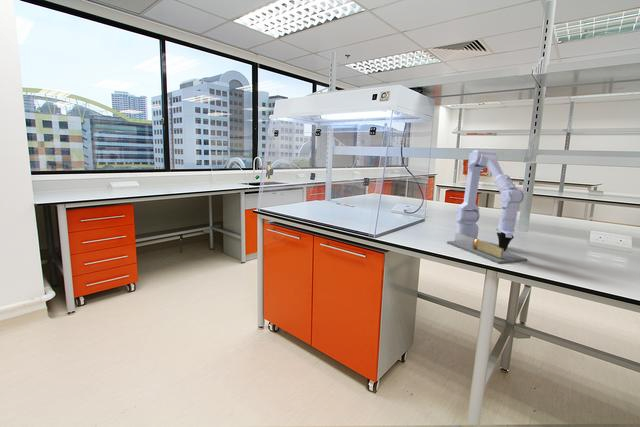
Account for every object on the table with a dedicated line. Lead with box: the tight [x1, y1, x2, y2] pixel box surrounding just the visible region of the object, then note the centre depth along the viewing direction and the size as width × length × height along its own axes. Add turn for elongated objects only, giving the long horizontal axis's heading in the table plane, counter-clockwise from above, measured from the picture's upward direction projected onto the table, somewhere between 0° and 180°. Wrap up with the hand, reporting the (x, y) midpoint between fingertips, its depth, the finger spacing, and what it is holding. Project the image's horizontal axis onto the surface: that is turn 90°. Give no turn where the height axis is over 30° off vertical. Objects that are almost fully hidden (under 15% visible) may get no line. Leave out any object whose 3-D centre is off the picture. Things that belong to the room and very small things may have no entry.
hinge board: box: [446, 240, 529, 264], centre depth 139 cm, size 16×28×1 cm, turn 20°
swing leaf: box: [474, 238, 504, 258], centre depth 132 cm, size 2×14×4 cm, turn 19°
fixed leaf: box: [454, 232, 475, 249], centre depth 144 cm, size 1×11×4 cm, turn 21°
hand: (502, 250), depth 131 cm, fingers closed
